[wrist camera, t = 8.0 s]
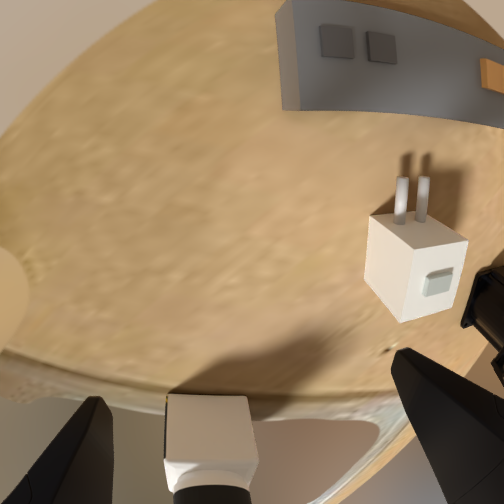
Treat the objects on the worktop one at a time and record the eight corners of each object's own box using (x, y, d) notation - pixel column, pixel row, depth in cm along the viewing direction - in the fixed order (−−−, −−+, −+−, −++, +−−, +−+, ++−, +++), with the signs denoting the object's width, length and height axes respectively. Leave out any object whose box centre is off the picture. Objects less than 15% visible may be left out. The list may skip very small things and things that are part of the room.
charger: (411, 269, 23) (454, 311, 18) (363, 279, 22) (402, 326, 17) (423, 170, 19) (480, 194, 14) (370, 171, 19) (425, 198, 14)
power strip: (477, 123, 18) (515, 131, 14) (282, 110, 17) (304, 110, 13) (474, 51, 15) (512, 51, 12) (274, 14, 14) (294, -9, 10)
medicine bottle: (166, 391, 25) (163, 519, 14) (247, 393, 26) (272, 517, 15) (168, 433, 27) (170, 538, 17) (238, 434, 29) (255, 536, 18)
